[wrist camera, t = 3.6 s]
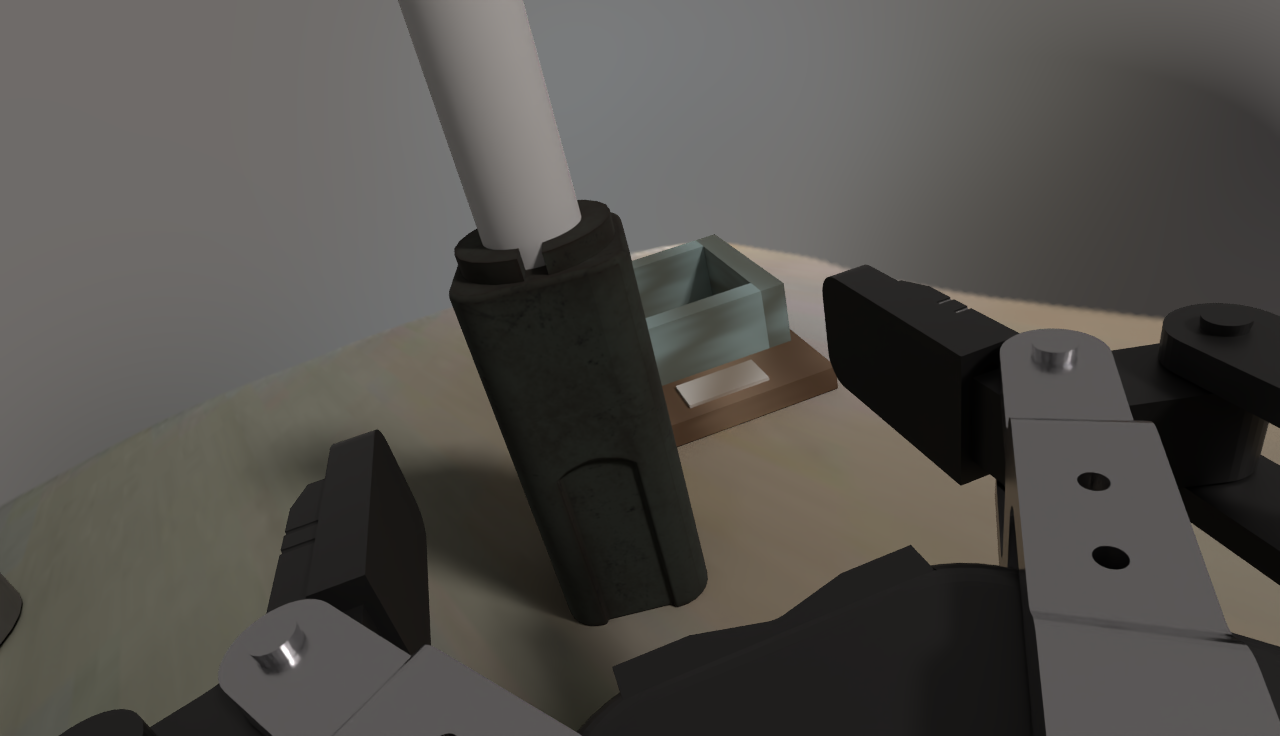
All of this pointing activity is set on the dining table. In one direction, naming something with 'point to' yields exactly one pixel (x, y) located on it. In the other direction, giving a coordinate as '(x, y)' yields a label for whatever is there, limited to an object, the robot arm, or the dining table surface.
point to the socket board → (723, 339)
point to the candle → (557, 324)
